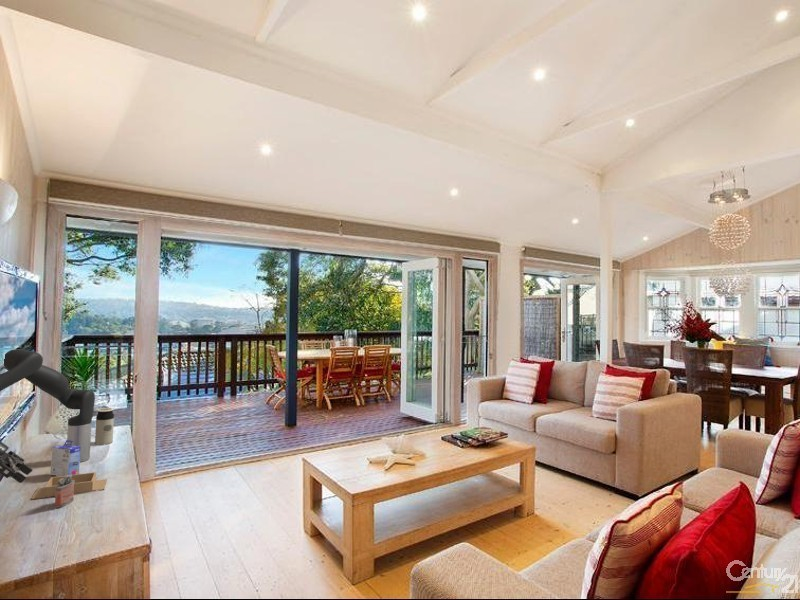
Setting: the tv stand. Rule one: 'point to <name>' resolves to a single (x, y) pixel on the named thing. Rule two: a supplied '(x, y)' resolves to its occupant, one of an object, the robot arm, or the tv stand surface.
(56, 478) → the mailer box
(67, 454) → the ink cartridge box
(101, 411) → the travel mug
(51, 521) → the tv stand surface
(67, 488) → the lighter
